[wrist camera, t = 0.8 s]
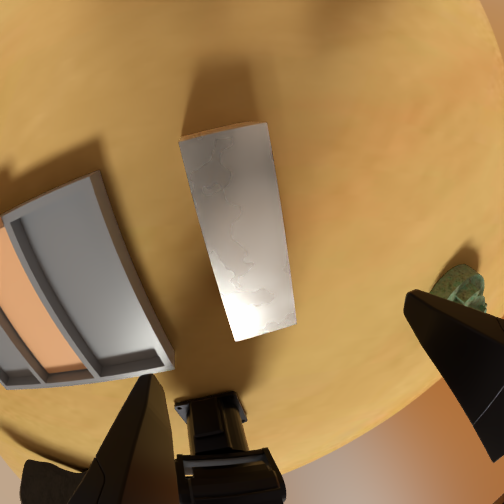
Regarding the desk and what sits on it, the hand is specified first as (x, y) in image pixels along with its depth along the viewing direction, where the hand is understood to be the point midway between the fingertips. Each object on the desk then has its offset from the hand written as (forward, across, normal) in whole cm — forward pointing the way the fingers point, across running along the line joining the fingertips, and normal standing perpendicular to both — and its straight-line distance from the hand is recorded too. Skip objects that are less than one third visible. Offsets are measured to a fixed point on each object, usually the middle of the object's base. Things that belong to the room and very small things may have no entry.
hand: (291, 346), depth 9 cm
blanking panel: (+11, 0, 0) cm, 11 cm away
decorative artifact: (+12, -23, +16) cm, 30 cm away
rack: (+11, +17, +2) cm, 21 cm away
